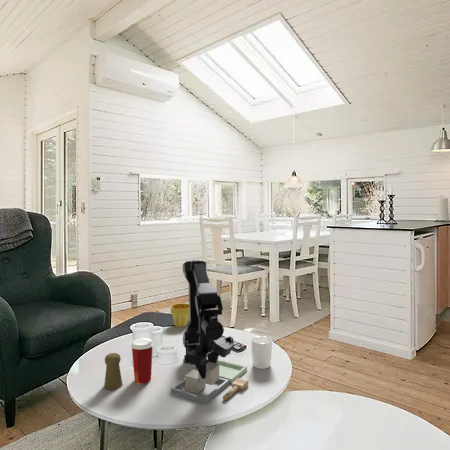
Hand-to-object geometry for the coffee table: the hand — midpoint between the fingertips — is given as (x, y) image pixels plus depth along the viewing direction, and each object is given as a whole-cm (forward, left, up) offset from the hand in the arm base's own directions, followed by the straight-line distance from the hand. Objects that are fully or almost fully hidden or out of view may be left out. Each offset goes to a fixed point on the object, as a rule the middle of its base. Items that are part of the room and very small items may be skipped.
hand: (208, 375), depth 127 cm
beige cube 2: (-5, -1, -6) cm, 7 cm away
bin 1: (-3, 0, -5) cm, 6 cm away
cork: (-30, -13, -6) cm, 33 cm away
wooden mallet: (+8, +4, -5) cm, 10 cm away
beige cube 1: (0, 0, -2) cm, 2 cm away
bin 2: (-3, +14, -5) cm, 16 cm away
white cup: (+7, +27, -6) cm, 28 cm away
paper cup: (-24, -5, -6) cm, 25 cm away
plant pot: (-48, +49, -6) cm, 69 cm away
